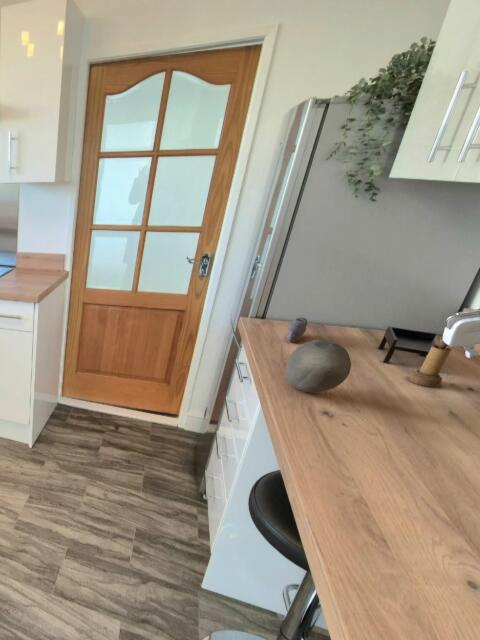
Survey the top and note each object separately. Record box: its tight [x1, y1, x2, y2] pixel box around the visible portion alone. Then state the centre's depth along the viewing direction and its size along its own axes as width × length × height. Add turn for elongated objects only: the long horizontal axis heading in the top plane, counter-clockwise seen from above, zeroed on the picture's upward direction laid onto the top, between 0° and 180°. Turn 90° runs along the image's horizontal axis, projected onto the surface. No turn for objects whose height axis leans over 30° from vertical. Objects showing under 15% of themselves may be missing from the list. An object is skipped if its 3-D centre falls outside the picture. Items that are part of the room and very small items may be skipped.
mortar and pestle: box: [408, 326, 452, 388], centre depth 123 cm, size 7×6×18 cm
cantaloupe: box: [285, 339, 352, 394], centre depth 118 cm, size 14×14×15 cm
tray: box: [378, 326, 438, 364], centre depth 141 cm, size 12×16×8 cm
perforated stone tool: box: [286, 316, 308, 343], centre depth 158 cm, size 15×5×7 cm, turn 135°
